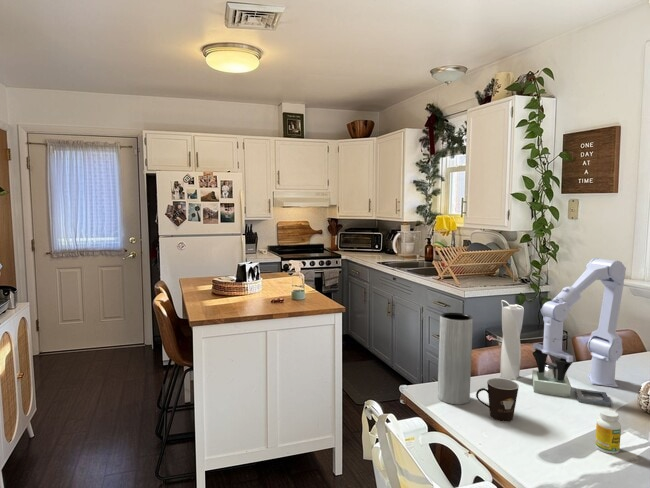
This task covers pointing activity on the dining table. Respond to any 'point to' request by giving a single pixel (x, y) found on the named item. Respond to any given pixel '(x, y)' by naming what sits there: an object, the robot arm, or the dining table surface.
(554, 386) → the bin
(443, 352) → the vase
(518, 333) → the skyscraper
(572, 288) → the robot arm
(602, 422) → the supplement bottle
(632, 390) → the dining table surface
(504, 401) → the coffee mug
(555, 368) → the shiny metal cylinder
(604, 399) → the grey square frame
